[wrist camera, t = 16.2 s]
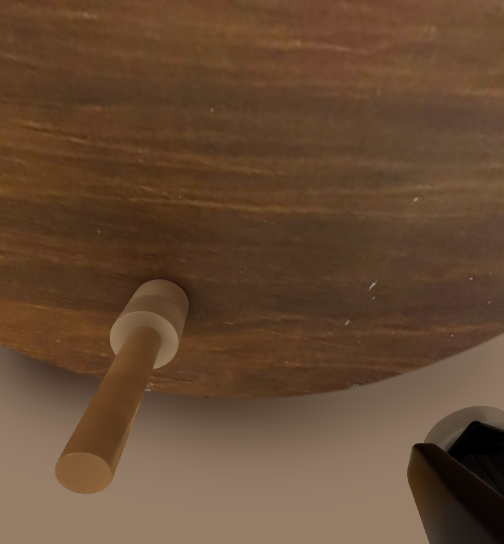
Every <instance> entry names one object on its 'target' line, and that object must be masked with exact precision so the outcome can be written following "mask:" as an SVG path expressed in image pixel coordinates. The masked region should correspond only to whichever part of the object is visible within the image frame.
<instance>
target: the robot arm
mask: <svg viewBox="0 0 504 544" xmlns="http://www.w3.org/2000/svg"><path fill="white" fill-rule="evenodd" d="M407 477H408V482H409V485H410V488H411V490H412V493H413V497H414V499H415V503H416V505H417V508H418V511H419V514H420V517H421V520H422V523H423V526H424V529H425V531H426V534H427V537H428V540H429V543H430V544H504V430H502V429H500V428H497V427H494V426H491V425H488V424H485V423H482V422H480V421H473V422H471V423H470V424H469V425H468V426H467V428H466V429H465V430H464V431H463V433H462V434H461V435H460V436H459V438H458V439H457V440H456V441H455V443H454V444H453V445H452V446H451V448H450V449H449V450H448V451H447V453H446V452H445V451H443V450H442V449H441V448H440V447H438V446H437V445H435V444H433V443H417V444H415V445H414V446H413V447H412V451H411V456H410V460H409V465H408V470H407Z"/></svg>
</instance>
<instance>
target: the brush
mask: <svg viewBox="0 0 504 544" xmlns="http://www.w3.org/2000/svg"><path fill="white" fill-rule="evenodd" d="M188 310H189V302H188V298H187V296H186V294H185V292H184V291H183V290H182V289H181V288H180V287H179V286H178V285H176V284H175V283H173V282H171V281H167V280H162V279H156V280H151V281H148V282H146V283H144V284H142V285H141V286H140V287H139V288H138V289H137V290H136V292H135V293H134V295H133V296H132V298H131V299H130V301H129V302H128V304H127V305H126V307H125V308H124V310H123V311H122V313H121V314H120V316H119V317H118V319H117V320H116V322H115V323H114V325H113V327H112V329H111V332H110V343H111V347H112V349H113V351H114V353H115V354H116V357H115V359H114V361H113V363H112V365H111V366H110V368H109V370H108V372H107V374H106V375H105V377H104V379H103V381H102V383H101V385H100V386H99V388H98V390H97V392H96V393H95V395H94V397H93V399H92V401H91V402H90V404H89V406H88V408H87V409H86V411H85V413H84V415H83V417H82V418H81V420H80V422H79V424H78V426H77V428H76V429H75V431H74V433H73V435H72V436H71V438H70V440H69V442H68V443H67V445H66V447H65V449H64V451H63V452H62V454H61V456H60V458H59V460H58V462H57V463H56V467H55V475H56V478H57V480H58V481H59V483H60V484H61V485H63V486H64V487H65V488H67V489H69V490H71V491H73V492H77V493H84V494H90V493H96V492H99V491H102V490H103V489H104V488H106V487H107V486H108V485H109V484H110V483H111V481H112V479H113V476H114V473H115V470H116V467H117V465H118V462H119V459H120V457H121V454H122V451H123V449H124V446H125V443H126V440H127V438H128V434H129V432H130V429H131V427H132V424H133V421H134V418H135V415H136V413H137V410H138V407H139V405H140V402H141V399H142V397H143V394H144V391H145V388H146V386H147V383H148V380H149V378H150V375H151V372H152V369H156V368H159V367H162V366H164V365H165V364H167V363H168V362H170V361H171V360H172V359H173V357H174V356H175V354H176V352H177V350H178V347H179V343H180V339H181V336H182V332H183V329H184V325H185V322H186V318H187V314H188Z"/></svg>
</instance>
